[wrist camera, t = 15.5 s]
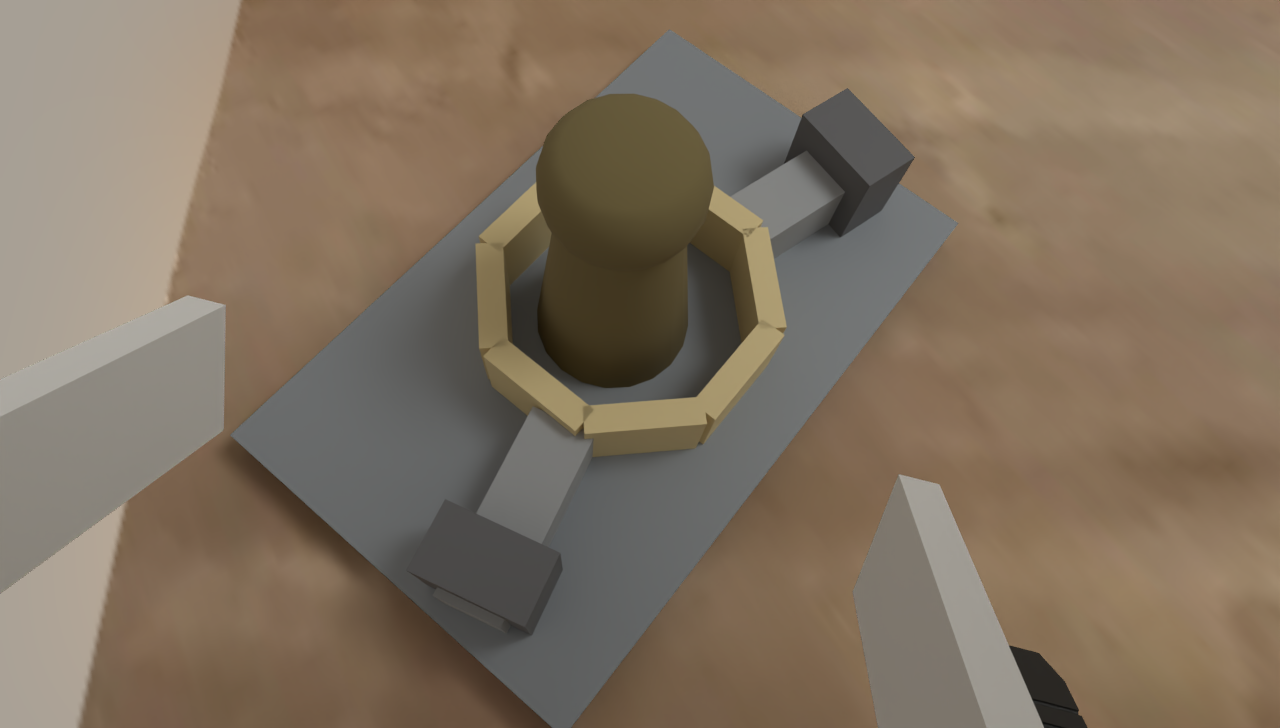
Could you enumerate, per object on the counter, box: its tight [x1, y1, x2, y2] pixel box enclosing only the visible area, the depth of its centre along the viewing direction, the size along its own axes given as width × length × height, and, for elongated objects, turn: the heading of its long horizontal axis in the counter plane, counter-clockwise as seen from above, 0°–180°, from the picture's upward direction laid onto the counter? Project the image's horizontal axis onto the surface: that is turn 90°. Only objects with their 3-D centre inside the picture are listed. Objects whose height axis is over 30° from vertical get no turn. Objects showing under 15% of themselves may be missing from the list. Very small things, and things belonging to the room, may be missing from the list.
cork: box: [536, 94, 714, 388], centre depth 27 cm, size 6×6×11 cm
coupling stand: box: [230, 29, 958, 728], centre depth 31 cm, size 26×16×5 cm, turn 141°
